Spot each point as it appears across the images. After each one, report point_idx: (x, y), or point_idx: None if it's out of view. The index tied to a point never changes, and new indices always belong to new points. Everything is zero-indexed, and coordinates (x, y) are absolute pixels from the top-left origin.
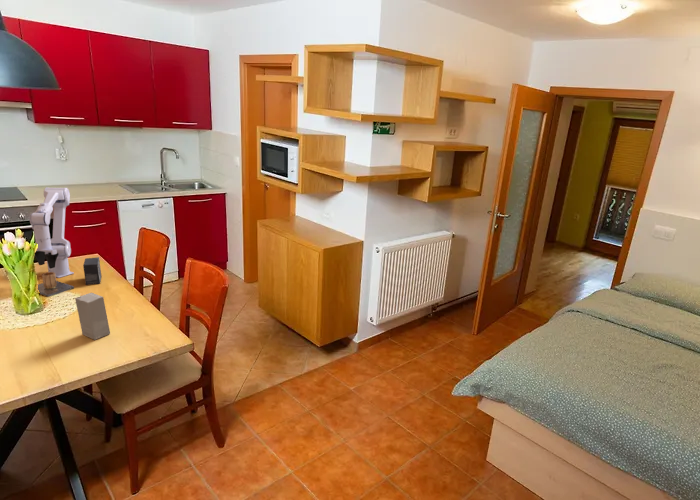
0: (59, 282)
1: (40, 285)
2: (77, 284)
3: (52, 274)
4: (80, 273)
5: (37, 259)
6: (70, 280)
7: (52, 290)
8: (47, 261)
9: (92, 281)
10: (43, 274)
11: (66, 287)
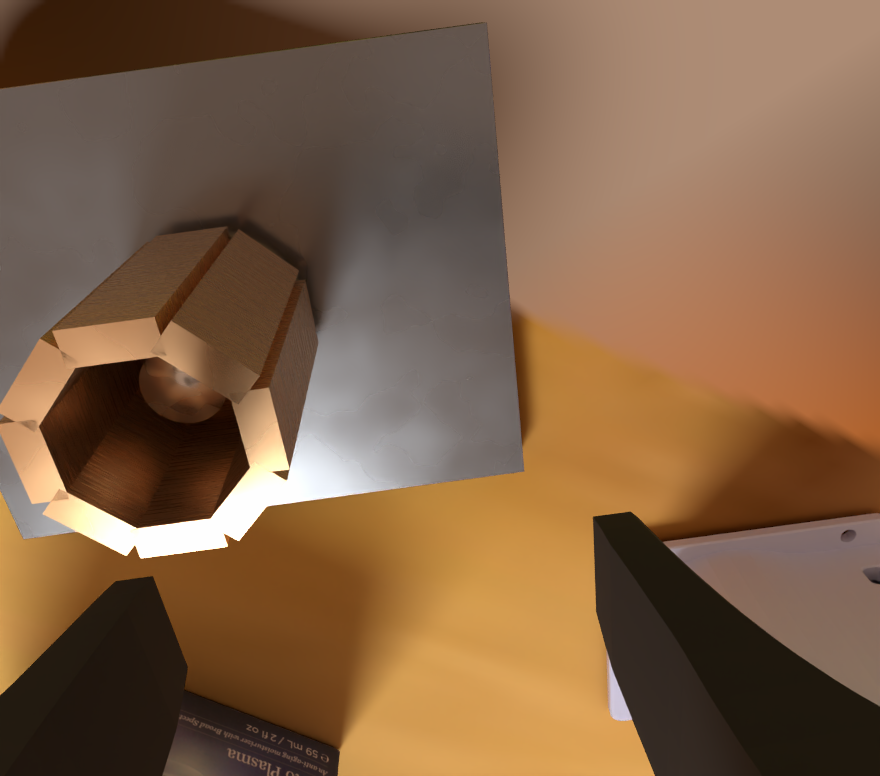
0: (343, 480)
1: (421, 239)
2: (176, 597)
3: (37, 482)
4: (554, 748)
5: (675, 629)
6: (399, 601)
7: (25, 266)
8: (6, 753)
9: None
10: (176, 353)
11: None
